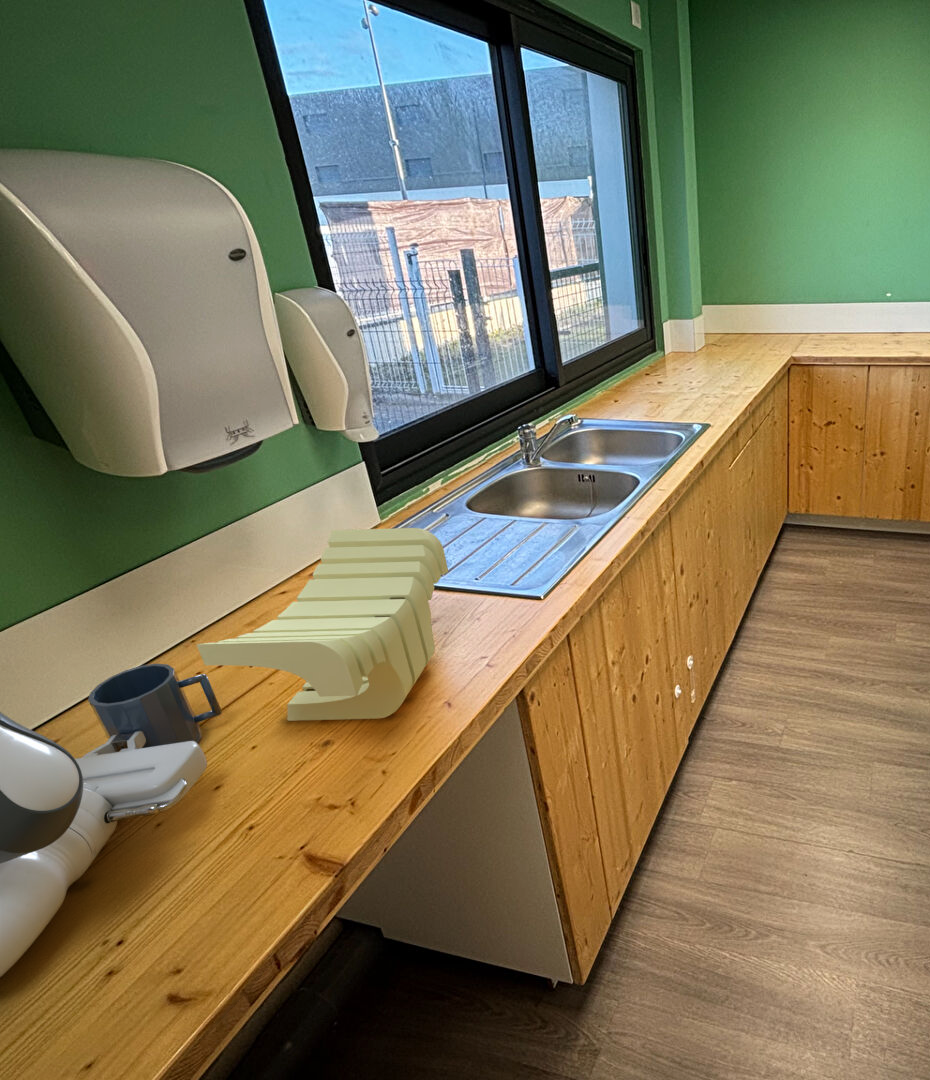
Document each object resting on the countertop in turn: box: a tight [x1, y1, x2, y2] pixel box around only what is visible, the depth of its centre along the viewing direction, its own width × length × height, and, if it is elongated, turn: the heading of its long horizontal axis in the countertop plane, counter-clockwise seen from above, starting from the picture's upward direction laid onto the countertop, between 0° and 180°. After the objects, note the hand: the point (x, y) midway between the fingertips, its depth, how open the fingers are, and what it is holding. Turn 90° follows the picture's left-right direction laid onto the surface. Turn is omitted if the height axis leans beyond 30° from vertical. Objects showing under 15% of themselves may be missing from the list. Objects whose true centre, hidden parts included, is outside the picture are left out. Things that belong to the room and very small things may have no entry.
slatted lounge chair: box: [195, 527, 450, 722], centre depth 94 cm, size 30×16×18 cm, turn 0°
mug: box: [87, 663, 223, 748], centre depth 87 cm, size 11×8×10 cm
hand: (130, 737), depth 82 cm, fingers closed, pressing on mug
